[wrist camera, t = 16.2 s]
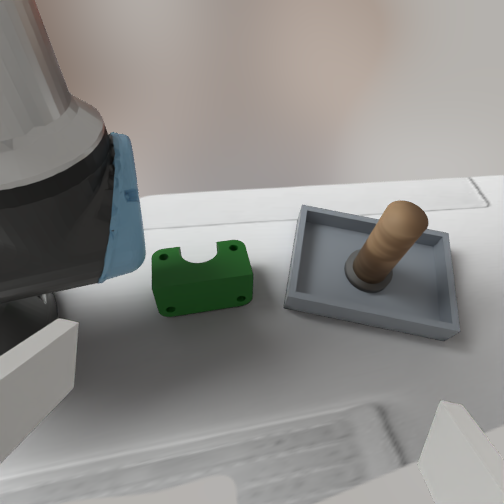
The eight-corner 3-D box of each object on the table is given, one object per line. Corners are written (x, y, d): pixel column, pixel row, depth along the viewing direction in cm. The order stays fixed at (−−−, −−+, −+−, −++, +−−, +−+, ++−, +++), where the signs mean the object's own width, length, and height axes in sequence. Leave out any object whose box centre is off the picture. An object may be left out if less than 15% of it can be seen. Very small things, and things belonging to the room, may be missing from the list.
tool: (343, 287, 45) (377, 235, 35) (345, 248, 48) (377, 190, 38) (390, 297, 45) (438, 247, 35) (389, 257, 48) (433, 200, 38)
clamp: (229, 287, 50) (255, 241, 45) (236, 322, 46) (266, 276, 41) (142, 276, 45) (160, 222, 40) (142, 314, 41) (162, 260, 36)
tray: (283, 307, 44) (287, 296, 41) (297, 219, 52) (302, 204, 49) (444, 341, 43) (460, 331, 40) (435, 246, 51) (448, 233, 48)
